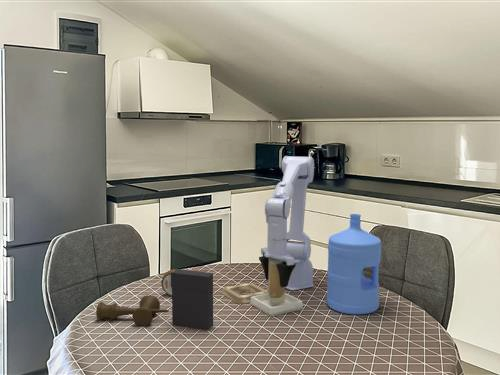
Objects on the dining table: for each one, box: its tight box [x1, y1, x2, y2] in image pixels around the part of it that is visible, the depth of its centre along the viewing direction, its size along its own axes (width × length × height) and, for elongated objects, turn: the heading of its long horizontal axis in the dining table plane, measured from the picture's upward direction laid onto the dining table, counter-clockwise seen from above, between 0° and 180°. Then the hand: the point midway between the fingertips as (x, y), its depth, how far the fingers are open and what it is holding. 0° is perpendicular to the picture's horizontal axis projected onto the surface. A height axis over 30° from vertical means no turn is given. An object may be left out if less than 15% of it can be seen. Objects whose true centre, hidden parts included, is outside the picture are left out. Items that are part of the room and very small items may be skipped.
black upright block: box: [171, 268, 214, 331], centre depth 135 cm, size 11×4×15 cm, turn 71°
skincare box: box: [267, 258, 286, 303], centre depth 149 cm, size 6×4×12 cm
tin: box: [160, 268, 202, 297], centre depth 159 cm, size 15×3×8 cm, turn 84°
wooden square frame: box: [221, 282, 268, 305], centre depth 160 cm, size 11×11×2 cm
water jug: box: [326, 213, 382, 315], centre depth 150 cm, size 16×16×28 cm
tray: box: [250, 292, 304, 318], centre depth 150 cm, size 11×11×2 cm
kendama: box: [95, 294, 169, 327], centre depth 140 cm, size 6×10×20 cm
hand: (276, 283), depth 149 cm, fingers closed on skincare box, 7 cm apart
